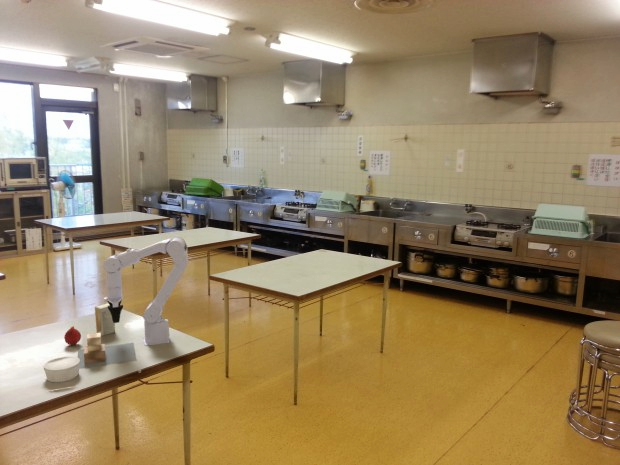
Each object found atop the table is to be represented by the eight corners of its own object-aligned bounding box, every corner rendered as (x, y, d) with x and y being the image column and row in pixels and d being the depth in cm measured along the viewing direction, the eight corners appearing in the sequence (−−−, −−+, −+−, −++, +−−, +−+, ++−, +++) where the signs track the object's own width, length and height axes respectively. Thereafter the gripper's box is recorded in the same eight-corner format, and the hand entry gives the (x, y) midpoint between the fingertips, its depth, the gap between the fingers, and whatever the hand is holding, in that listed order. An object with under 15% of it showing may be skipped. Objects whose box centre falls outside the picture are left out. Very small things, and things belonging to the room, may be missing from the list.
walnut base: (105, 353, 184) (104, 343, 183) (105, 361, 177) (105, 350, 177) (84, 356, 181) (84, 346, 180) (84, 364, 174) (83, 353, 174)
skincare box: (109, 329, 209) (108, 302, 207) (115, 332, 206) (114, 304, 204) (95, 334, 204) (94, 306, 202) (101, 336, 201) (100, 308, 199)
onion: (74, 349, 188) (73, 329, 187) (61, 348, 189) (60, 328, 188) (84, 343, 194) (83, 324, 192) (71, 342, 195) (70, 323, 193)
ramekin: (68, 367, 173) (67, 353, 172) (88, 375, 167) (87, 360, 166) (37, 379, 163) (36, 364, 162) (57, 388, 158) (56, 372, 157)
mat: (133, 343, 195) (133, 342, 195) (136, 361, 178) (136, 360, 178) (78, 350, 187) (78, 349, 187) (76, 370, 170) (76, 369, 170)
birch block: (101, 345, 181) (100, 332, 180) (101, 349, 177) (100, 336, 176) (88, 347, 180) (87, 334, 179) (87, 351, 176) (86, 338, 175)
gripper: (102, 282, 196) (104, 314, 198) (103, 292, 183) (105, 326, 185) (121, 281, 199) (123, 312, 201) (123, 290, 186) (125, 324, 188)
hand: (115, 319), depth 193 cm, fingers open, 7 cm apart
